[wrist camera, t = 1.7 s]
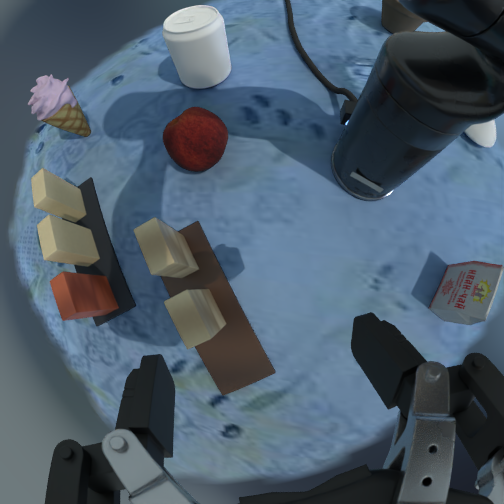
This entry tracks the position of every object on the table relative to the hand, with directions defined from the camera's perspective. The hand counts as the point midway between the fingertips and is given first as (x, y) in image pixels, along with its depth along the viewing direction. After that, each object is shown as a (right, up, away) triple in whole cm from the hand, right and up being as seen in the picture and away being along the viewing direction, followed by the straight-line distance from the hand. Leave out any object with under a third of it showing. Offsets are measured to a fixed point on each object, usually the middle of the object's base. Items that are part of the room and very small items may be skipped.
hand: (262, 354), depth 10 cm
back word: (-22, +5, +22) cm, 32 cm away
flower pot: (+30, +52, +26) cm, 66 cm away
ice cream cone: (-27, +23, +25) cm, 44 cm away
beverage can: (-8, +32, +25) cm, 41 cm away
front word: (-5, -3, +21) cm, 21 cm away
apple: (-7, +17, +23) cm, 29 cm away
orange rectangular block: (-19, -1, +21) cm, 28 cm away
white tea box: (+26, -1, +19) cm, 32 cm away
